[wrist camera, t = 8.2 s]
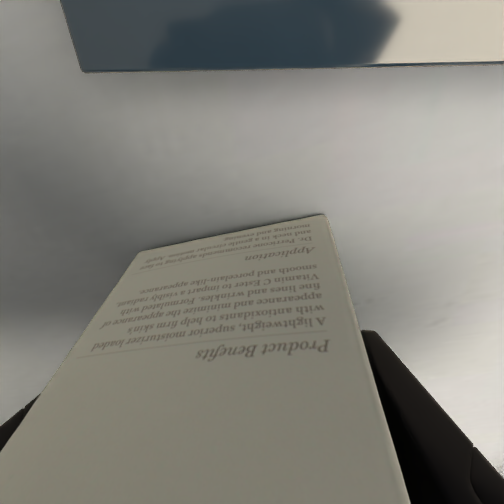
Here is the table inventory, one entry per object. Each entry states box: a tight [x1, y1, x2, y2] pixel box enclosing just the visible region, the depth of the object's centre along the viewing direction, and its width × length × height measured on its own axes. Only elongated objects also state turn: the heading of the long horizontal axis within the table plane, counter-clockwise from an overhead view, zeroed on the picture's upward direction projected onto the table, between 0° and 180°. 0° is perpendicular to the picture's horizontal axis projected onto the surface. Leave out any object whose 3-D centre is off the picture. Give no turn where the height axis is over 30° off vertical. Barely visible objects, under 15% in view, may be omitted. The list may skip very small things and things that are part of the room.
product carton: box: [0, 215, 411, 504], centre depth 7 cm, size 6×6×7 cm
